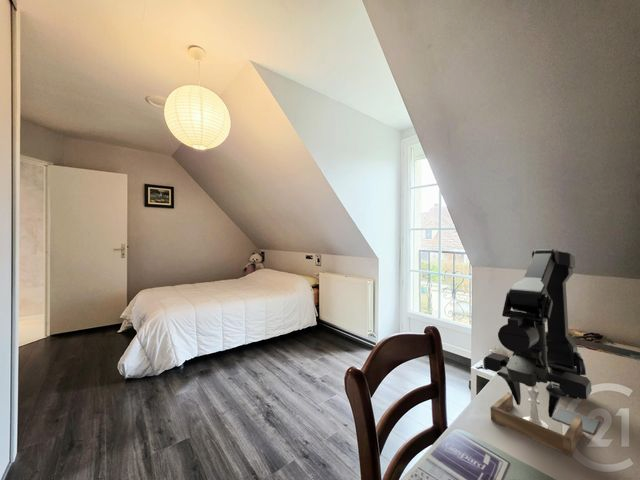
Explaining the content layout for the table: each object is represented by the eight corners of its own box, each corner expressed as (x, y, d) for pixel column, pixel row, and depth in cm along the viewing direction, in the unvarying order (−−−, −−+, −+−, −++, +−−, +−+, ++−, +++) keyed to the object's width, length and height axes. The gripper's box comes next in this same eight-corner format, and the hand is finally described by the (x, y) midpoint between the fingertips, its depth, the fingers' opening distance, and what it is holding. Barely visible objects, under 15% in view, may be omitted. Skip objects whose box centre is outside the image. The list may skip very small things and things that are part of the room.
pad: (559, 407, 67) (559, 406, 67) (599, 422, 61) (599, 420, 61) (551, 418, 63) (551, 417, 63) (593, 434, 57) (593, 433, 57)
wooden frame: (508, 403, 69) (508, 392, 69) (582, 432, 58) (581, 418, 58) (491, 420, 63) (490, 407, 63) (570, 456, 51) (569, 440, 51)
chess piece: (521, 416, 64) (519, 374, 64) (548, 425, 60) (546, 380, 61) (521, 427, 60) (518, 382, 60) (549, 436, 57) (546, 389, 57)
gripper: (472, 338, 64) (475, 404, 63) (577, 364, 49) (583, 450, 48) (491, 330, 70) (494, 389, 70) (589, 350, 55) (594, 426, 55)
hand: (534, 410), depth 60 cm, fingers open, 6 cm apart
